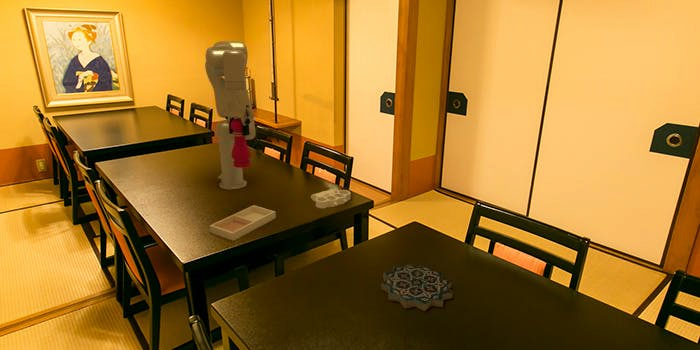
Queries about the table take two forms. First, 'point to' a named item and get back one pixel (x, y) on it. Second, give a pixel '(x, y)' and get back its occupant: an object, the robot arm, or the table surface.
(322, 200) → the knuckle duster
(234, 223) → the cell tray
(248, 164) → the pepper mill
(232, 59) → the robot arm
